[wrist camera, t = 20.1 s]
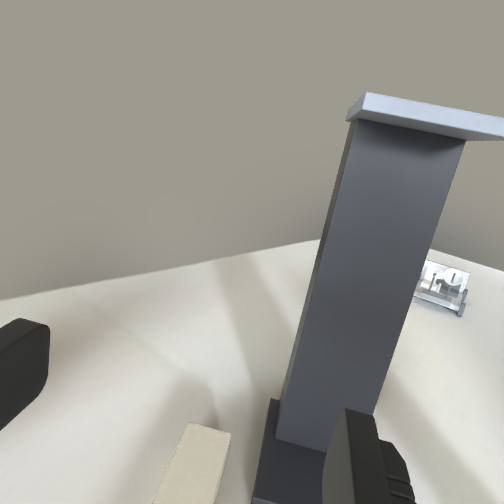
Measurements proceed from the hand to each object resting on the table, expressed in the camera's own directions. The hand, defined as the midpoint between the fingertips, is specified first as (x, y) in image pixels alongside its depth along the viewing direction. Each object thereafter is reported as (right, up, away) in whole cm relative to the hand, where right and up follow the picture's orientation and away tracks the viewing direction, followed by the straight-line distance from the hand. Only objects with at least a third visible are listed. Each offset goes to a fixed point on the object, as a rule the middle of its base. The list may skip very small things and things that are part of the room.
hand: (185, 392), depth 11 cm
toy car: (+44, -8, +81) cm, 92 cm away
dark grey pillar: (+8, -16, +27) cm, 33 cm away
